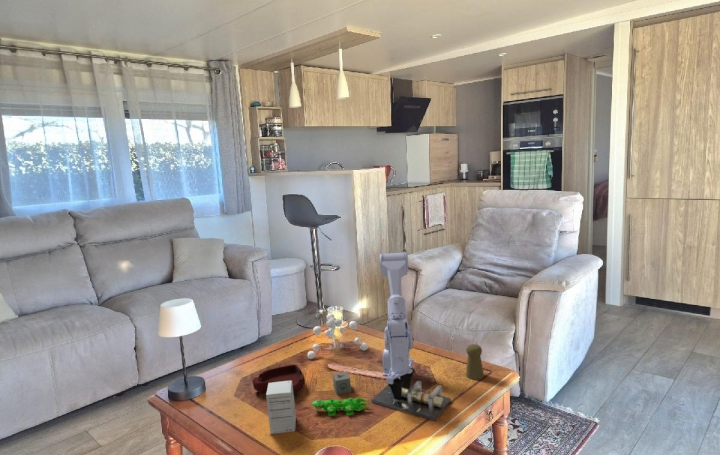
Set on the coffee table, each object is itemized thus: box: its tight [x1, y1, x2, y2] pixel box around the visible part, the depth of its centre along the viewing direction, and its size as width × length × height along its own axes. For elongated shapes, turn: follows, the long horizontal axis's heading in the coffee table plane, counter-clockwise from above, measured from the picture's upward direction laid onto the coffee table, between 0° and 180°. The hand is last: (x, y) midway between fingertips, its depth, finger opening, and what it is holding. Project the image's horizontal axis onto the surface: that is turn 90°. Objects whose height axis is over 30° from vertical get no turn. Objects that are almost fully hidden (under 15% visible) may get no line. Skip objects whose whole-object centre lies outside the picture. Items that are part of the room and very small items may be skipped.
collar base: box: [371, 380, 452, 422], centre depth 144 cm, size 22×12×6 cm, turn 56°
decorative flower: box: [307, 313, 369, 360], centre depth 186 cm, size 25×22×14 cm
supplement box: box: [265, 381, 297, 435], centre depth 135 cm, size 7×7×13 cm
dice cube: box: [332, 371, 352, 396], centre depth 155 cm, size 5×5×5 cm
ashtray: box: [252, 364, 306, 397], centre depth 159 cm, size 18×16×5 cm
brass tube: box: [401, 387, 444, 408], centre depth 142 cm, size 16×3×3 cm, turn 56°
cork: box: [465, 343, 485, 381], centre depth 157 cm, size 6×6×11 cm
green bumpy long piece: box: [311, 397, 370, 417], centre depth 142 cm, size 7×18×4 cm, turn 88°
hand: (401, 394), depth 146 cm, fingers open, 5 cm apart
